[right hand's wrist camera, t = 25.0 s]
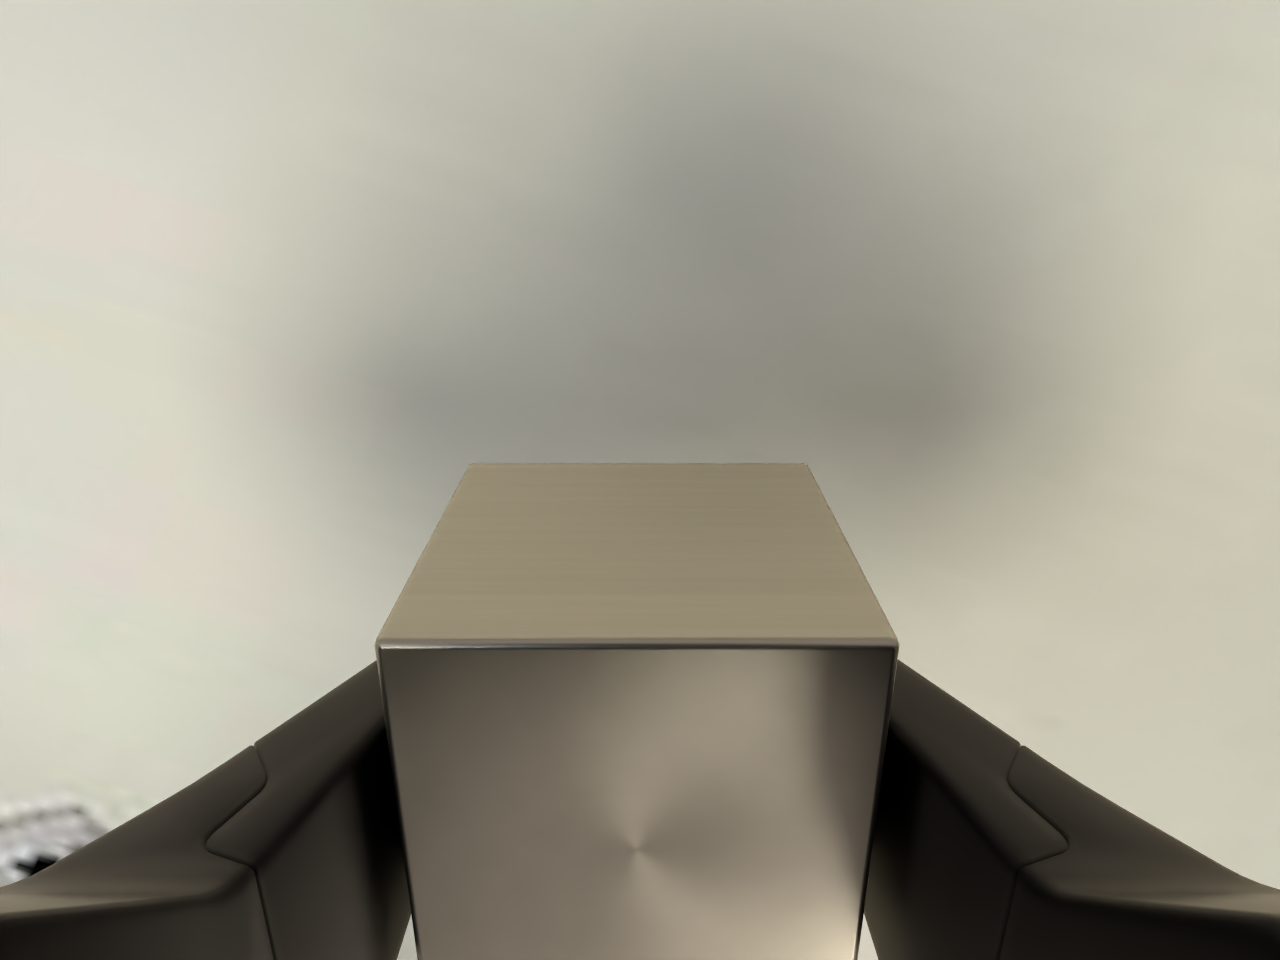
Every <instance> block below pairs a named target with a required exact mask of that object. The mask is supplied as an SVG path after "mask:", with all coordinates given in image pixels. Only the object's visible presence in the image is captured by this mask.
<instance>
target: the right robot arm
mask: <svg viewBox="0 0 1280 960" xmlns="http://www.w3.org/2000/svg"><path fill="white" fill-rule="evenodd" d="M864 915H865V918H866V921H867V924H868V927H869V931H870V934H871V937H872V940H873V943H874V947H875V950H876V953H877V956H878V959H879V960H1280V890H1279V889H1276V888H1272V887H1269V886H1266V885H1263V884H1260V883H1257V882H1255V881H1253V880H1250V879H1248V878H1245V877H1243V876H1241V875H1239V874H1237V873H1235V872H1233V871H1231V870H1230V869H1228V868H1226V867H1224V866H1222V865H1220V864H1219V863H1217V862H1215V861H1213V860H1212V859H1210V858H1208V857H1207V856H1205V855H1203V854H1201V853H1200V852H1198V851H1196V850H1194V849H1193V848H1191V847H1189V846H1187V845H1186V844H1184V843H1182V842H1181V841H1179V840H1177V839H1175V838H1174V837H1172V836H1170V835H1168V834H1167V833H1165V832H1163V831H1161V830H1160V829H1158V828H1156V827H1155V826H1153V825H1151V824H1149V823H1148V822H1146V821H1144V820H1142V819H1141V818H1139V817H1137V816H1135V815H1134V814H1132V813H1130V812H1129V811H1127V810H1125V809H1123V808H1122V807H1120V806H1118V805H1117V804H1115V803H1113V802H1112V801H1110V800H1108V799H1107V798H1105V797H1103V796H1102V795H1100V794H1098V793H1097V792H1095V791H1093V790H1091V789H1090V788H1088V787H1086V786H1085V785H1083V784H1082V783H1080V782H1078V781H1077V780H1075V779H1074V778H1072V777H1071V776H1069V775H1068V774H1066V773H1065V772H1063V771H1062V770H1060V769H1058V768H1057V767H1055V766H1054V765H1052V764H1051V763H1049V762H1048V761H1046V760H1045V759H1043V758H1042V757H1040V756H1039V755H1037V754H1036V753H1035V752H1033V751H1032V750H1030V749H1029V748H1027V747H1026V746H1020V743H1019V742H1018V741H1017V740H1015V739H1014V738H1012V737H1011V736H1009V735H1008V734H1006V733H1005V732H1003V731H1002V730H1001V729H999V728H998V727H996V726H995V725H993V724H992V723H990V722H989V721H987V720H986V719H984V718H983V717H981V716H980V715H979V714H977V713H976V712H974V711H973V710H971V709H970V708H968V707H967V706H965V705H964V704H962V703H961V702H959V701H958V700H957V699H955V698H954V697H952V696H951V695H949V694H948V693H946V692H945V691H943V690H942V689H940V688H939V687H938V686H936V685H935V684H933V683H932V682H930V681H929V680H927V679H926V678H924V677H923V676H921V675H920V674H918V673H917V672H916V671H914V670H913V669H911V668H910V667H908V666H907V665H905V664H904V663H902V662H901V661H899V660H898V659H897V666H896V674H895V681H894V689H893V696H892V704H891V711H890V719H889V726H888V734H887V741H886V749H885V756H884V764H883V771H882V779H881V786H880V794H879V801H878V809H877V816H876V824H875V831H874V839H873V846H872V854H871V861H870V869H869V876H868V884H867V891H866V899H865V906H864ZM410 916H411V907H410V899H409V892H408V885H407V877H406V870H405V863H404V855H403V848H402V841H401V833H400V826H399V819H398V811H397V804H396V797H395V789H394V782H393V775H392V767H391V760H390V753H389V745H388V738H387V731H386V723H385V716H384V709H383V701H382V694H381V687H380V679H379V672H378V665H377V660H376V661H375V662H373V663H372V664H370V665H369V666H367V667H366V668H364V669H363V670H362V671H360V672H359V673H357V674H356V675H354V676H353V677H351V678H350V679H348V680H347V681H345V682H344V683H342V684H341V685H339V686H338V687H336V688H335V689H333V690H332V691H330V692H329V693H328V694H326V695H325V696H323V697H322V698H320V699H319V700H317V701H316V702H314V703H313V704H311V705H310V706H308V707H307V708H305V709H304V710H302V711H301V712H299V713H298V714H296V715H295V716H293V717H292V718H291V719H289V720H288V721H286V722H285V723H283V724H282V725H280V726H279V727H277V728H276V729H274V730H273V731H271V732H270V733H268V734H267V735H265V736H264V737H262V738H261V739H259V740H258V741H256V742H255V744H254V746H249V747H247V748H246V749H244V750H243V751H241V752H240V753H239V754H237V755H236V756H234V757H233V758H231V759H230V760H228V761H227V762H225V763H224V764H222V765H220V766H219V767H217V768H216V769H214V770H213V771H211V772H210V773H208V774H207V775H205V776H203V777H202V778H200V779H199V780H197V781H196V782H194V783H193V784H191V785H189V786H188V787H186V788H184V789H183V790H181V791H179V792H178V793H176V794H174V795H173V796H171V797H169V798H167V799H166V800H164V801H162V802H161V803H159V804H157V805H156V806H154V807H152V808H150V809H149V810H147V811H145V812H143V813H142V814H140V815H138V816H137V817H135V818H133V819H131V820H130V821H128V822H126V823H124V824H123V825H121V826H119V827H117V828H116V829H114V830H112V831H110V832H109V833H107V834H105V835H103V836H102V837H100V838H98V839H96V840H95V841H93V842H91V843H89V844H88V845H86V846H84V847H82V848H81V849H79V850H77V851H75V852H74V853H72V854H70V855H68V856H67V857H65V858H63V859H61V860H60V861H58V862H56V863H54V864H53V865H51V866H49V867H47V868H45V869H43V870H42V871H40V872H38V873H36V874H34V875H32V876H30V877H27V878H25V879H23V880H20V881H18V882H15V883H13V884H10V885H7V886H4V887H0V960H397V957H398V954H399V951H400V947H401V944H402V941H403V938H404V935H405V932H406V928H407V925H408V922H409V919H410Z"/></svg>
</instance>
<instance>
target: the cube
mask: <svg viewBox="0 0 1280 960" xmlns="http://www.w3.org/2000/svg"><path fill="white" fill-rule="evenodd" d="M375 650H376V658H377V665H378V672H379V679H380V687H381V694H382V701H383V709H384V716H385V723H386V731H387V738H388V745H389V753H390V760H391V767H392V775H393V782H394V789H395V797H396V804H397V811H398V819H399V826H400V833H401V841H402V848H403V855H404V863H405V870H406V877H407V885H408V892H409V899H410V907H411V914H412V921H413V929H414V936H415V943H416V951H417V958H418V960H857V959H858V951H859V944H860V936H861V929H862V921H863V914H864V906H865V899H866V891H867V884H868V876H869V869H870V861H871V854H872V846H873V839H874V831H875V824H876V816H877V809H878V801H879V794H880V786H881V779H882V771H883V764H884V756H885V749H886V741H887V734H888V726H889V719H890V711H891V704H892V696H893V689H894V681H895V674H896V666H897V659H898V651H899V642H898V639H897V637H896V635H895V633H894V631H893V629H892V628H891V626H890V624H889V622H888V620H887V618H886V616H885V614H884V612H883V610H882V608H881V606H880V604H879V602H878V600H877V599H876V597H875V595H874V593H873V591H872V589H871V587H870V585H869V583H868V581H867V579H866V577H865V575H864V573H863V571H862V570H861V568H860V566H859V564H858V562H857V560H856V558H855V556H854V554H853V552H852V550H851V548H850V546H849V544H848V542H847V541H846V539H845V537H844V535H843V533H842V531H841V529H840V527H839V525H838V523H837V521H836V519H835V517H834V515H833V514H832V512H831V510H830V508H829V506H828V504H827V502H826V500H825V498H824V496H823V494H822V492H821V490H820V488H819V486H818V485H817V483H816V481H815V479H814V477H813V475H812V473H811V471H810V469H809V467H808V465H806V464H796V463H473V464H471V465H469V466H468V468H467V470H466V472H465V474H464V476H463V478H462V479H461V481H460V483H459V485H458V487H457V489H456V491H455V493H454V494H453V496H452V498H451V500H450V502H449V504H448V506H447V508H446V509H445V511H444V513H443V515H442V517H441V519H440V521H439V523H438V525H437V526H436V528H435V530H434V532H433V534H432V536H431V538H430V540H429V541H428V543H427V545H426V547H425V549H424V551H423V553H422V555H421V556H420V558H419V560H418V562H417V564H416V566H415V568H414V570H413V571H412V573H411V575H410V577H409V579H408V581H407V583H406V585H405V586H404V588H403V590H402V592H401V594H400V596H399V598H398V600H397V602H396V603H395V605H394V607H393V609H392V611H391V613H390V615H389V617H388V618H387V620H386V622H385V624H384V626H383V628H382V630H381V632H380V633H379V635H378V637H377V639H376V642H375Z"/></svg>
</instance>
